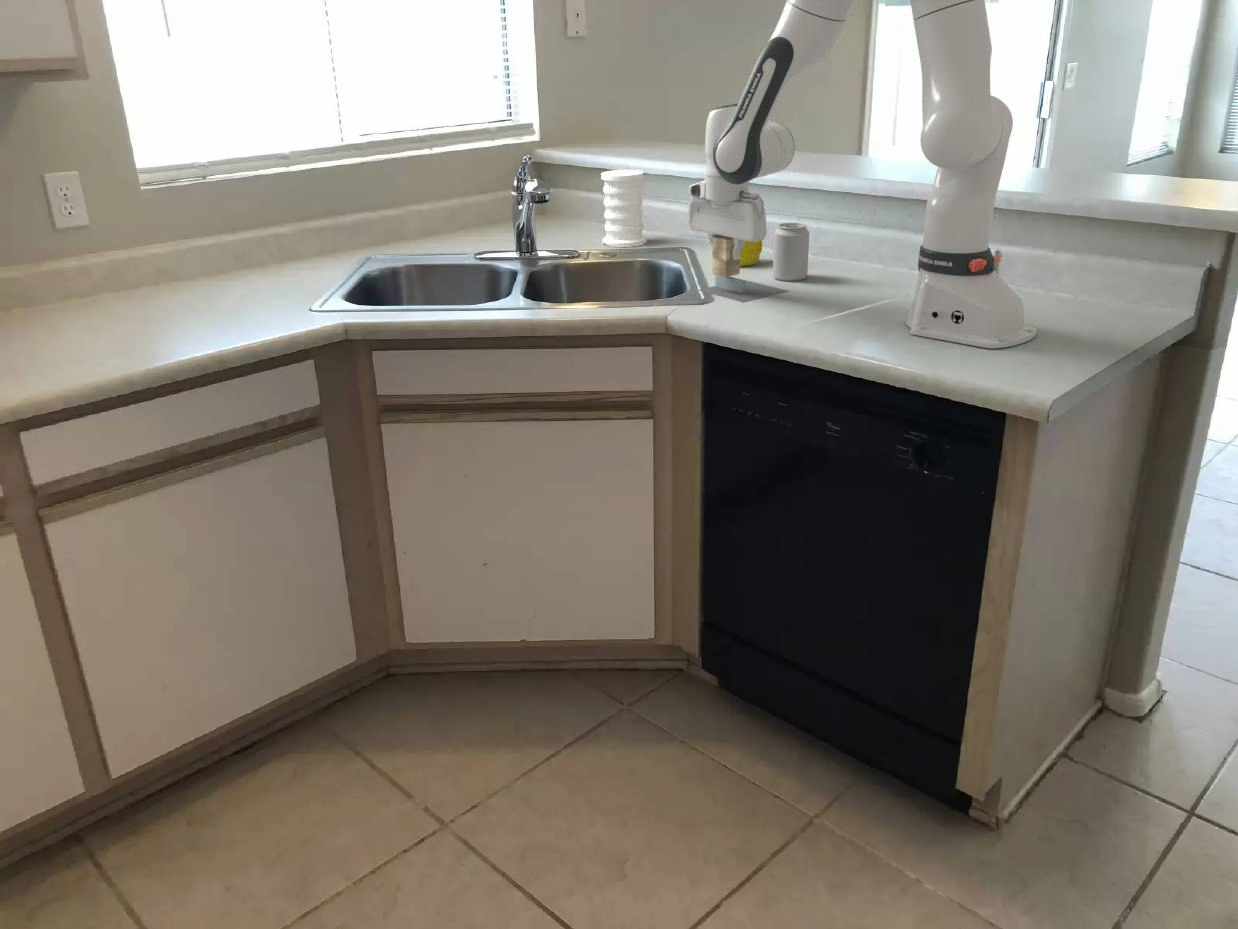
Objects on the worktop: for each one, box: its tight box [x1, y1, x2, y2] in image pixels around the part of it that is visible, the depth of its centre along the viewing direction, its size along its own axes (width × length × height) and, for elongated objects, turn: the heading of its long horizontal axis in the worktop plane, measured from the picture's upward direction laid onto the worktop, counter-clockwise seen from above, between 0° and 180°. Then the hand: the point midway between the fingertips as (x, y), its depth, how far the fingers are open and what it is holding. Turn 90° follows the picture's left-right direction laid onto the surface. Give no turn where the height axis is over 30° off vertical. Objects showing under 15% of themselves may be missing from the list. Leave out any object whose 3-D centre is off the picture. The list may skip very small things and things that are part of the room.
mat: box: [698, 279, 789, 304], centre depth 198 cm, size 14×13×1 cm
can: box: [772, 222, 810, 282], centre depth 204 cm, size 8×8×12 cm
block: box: [712, 235, 741, 277], centre depth 196 cm, size 4×4×8 cm
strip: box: [714, 275, 746, 293], centre depth 199 cm, size 8×1×2 cm, turn 37°
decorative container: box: [600, 169, 647, 246], centre depth 245 cm, size 12×12×18 cm
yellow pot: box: [740, 240, 763, 268], centre depth 220 cm, size 13×11×12 cm
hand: (726, 257), depth 196 cm, fingers closed on block, 4 cm apart
